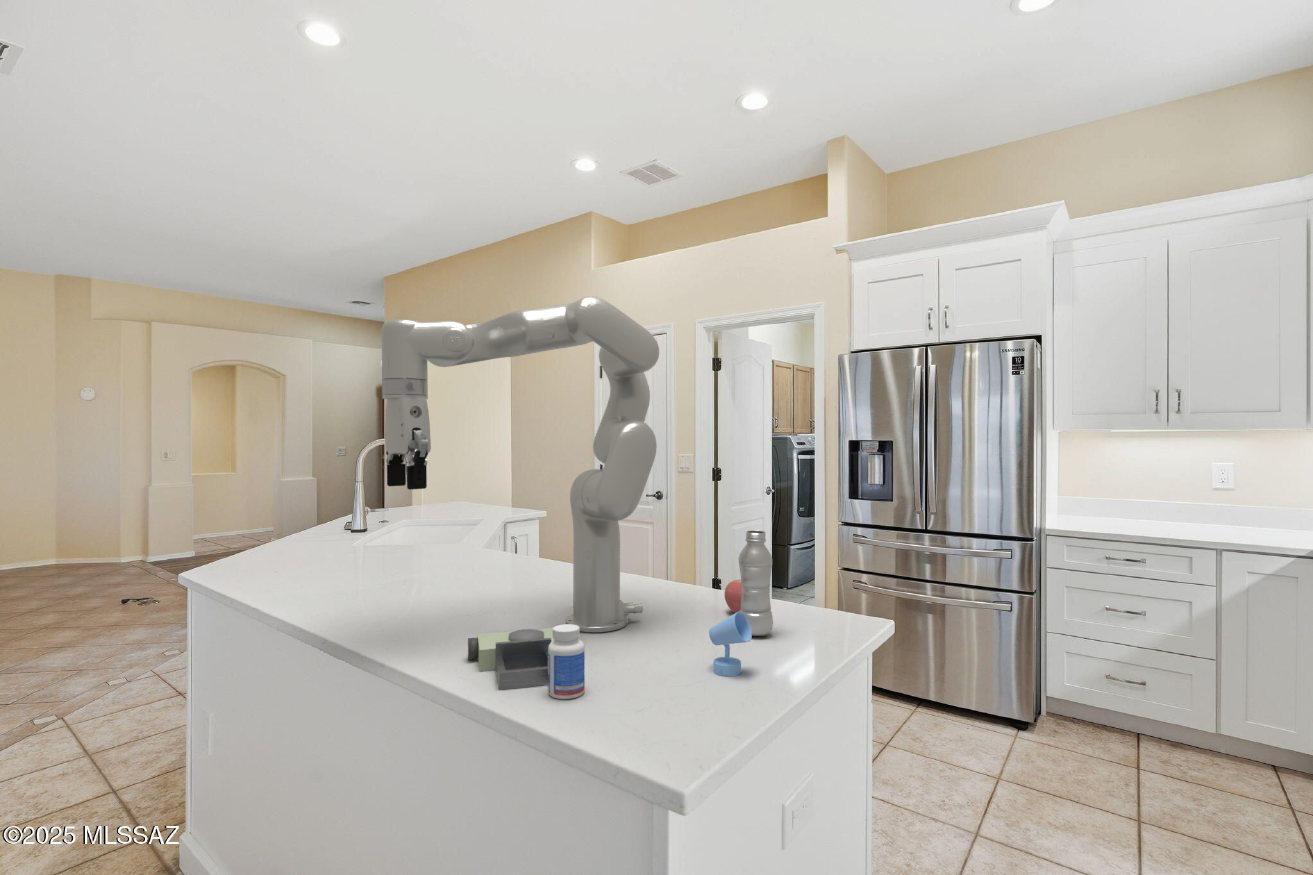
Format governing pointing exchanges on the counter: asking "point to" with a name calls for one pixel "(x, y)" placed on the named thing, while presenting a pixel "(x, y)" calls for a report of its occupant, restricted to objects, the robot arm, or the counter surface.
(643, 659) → the counter surface
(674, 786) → the counter surface
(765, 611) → the plastic bottle
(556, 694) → the pill bottle
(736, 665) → the spotlight
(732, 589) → the apple
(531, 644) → the gray square tray
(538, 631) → the green block with knobs
